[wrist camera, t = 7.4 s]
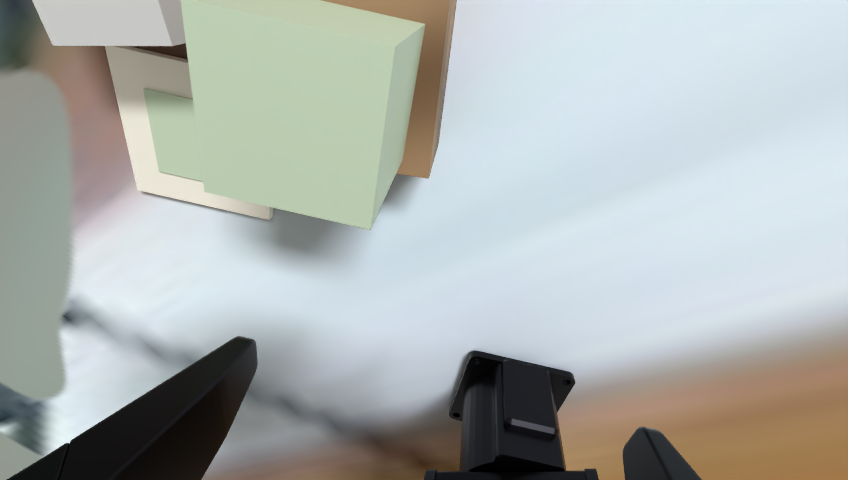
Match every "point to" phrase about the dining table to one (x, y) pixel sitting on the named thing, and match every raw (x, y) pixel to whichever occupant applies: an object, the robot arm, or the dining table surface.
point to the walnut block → (421, 74)
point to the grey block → (112, 22)
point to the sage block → (301, 102)
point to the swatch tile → (164, 128)
